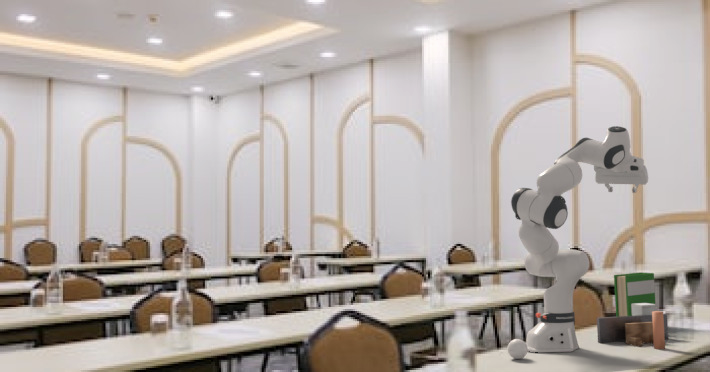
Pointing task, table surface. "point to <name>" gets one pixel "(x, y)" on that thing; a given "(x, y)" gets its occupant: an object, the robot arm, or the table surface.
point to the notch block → (639, 333)
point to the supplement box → (643, 308)
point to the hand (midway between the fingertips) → (622, 191)
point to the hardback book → (633, 291)
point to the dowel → (658, 330)
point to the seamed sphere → (517, 349)
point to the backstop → (621, 327)
